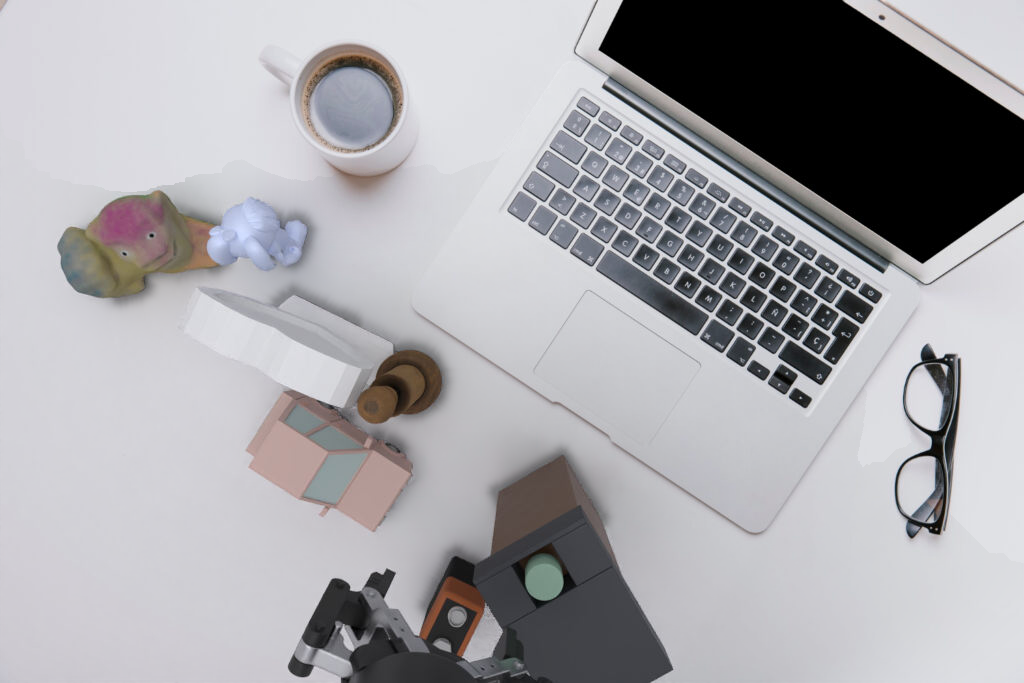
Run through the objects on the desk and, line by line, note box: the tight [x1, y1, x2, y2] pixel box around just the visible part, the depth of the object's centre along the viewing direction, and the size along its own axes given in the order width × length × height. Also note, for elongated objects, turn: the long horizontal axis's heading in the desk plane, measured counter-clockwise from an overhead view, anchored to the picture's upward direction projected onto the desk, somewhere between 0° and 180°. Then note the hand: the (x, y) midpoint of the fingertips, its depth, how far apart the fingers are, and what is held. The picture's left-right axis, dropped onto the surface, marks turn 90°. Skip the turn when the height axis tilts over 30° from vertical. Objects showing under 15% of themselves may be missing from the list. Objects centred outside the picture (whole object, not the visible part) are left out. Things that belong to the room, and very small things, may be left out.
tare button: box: [525, 553, 563, 601], centre depth 47 cm, size 3×3×2 cm
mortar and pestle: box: [356, 349, 443, 425], centre depth 61 cm, size 7×6×18 cm
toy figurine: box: [207, 196, 308, 272], centre depth 64 cm, size 7×6×12 cm
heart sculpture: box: [178, 286, 394, 409], centre depth 61 cm, size 16×5×18 cm, turn 64°
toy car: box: [245, 389, 414, 533], centre depth 66 cm, size 9×15×10 cm, turn 57°
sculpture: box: [56, 189, 220, 299], centre depth 65 cm, size 15×8×10 cm, turn 114°
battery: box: [418, 555, 486, 658], centre depth 66 cm, size 4×7×10 cm, turn 154°
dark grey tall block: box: [473, 454, 674, 683], centre depth 59 cm, size 13×9×24 cm
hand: (445, 611), depth 43 cm, fingers open, 8 cm apart
